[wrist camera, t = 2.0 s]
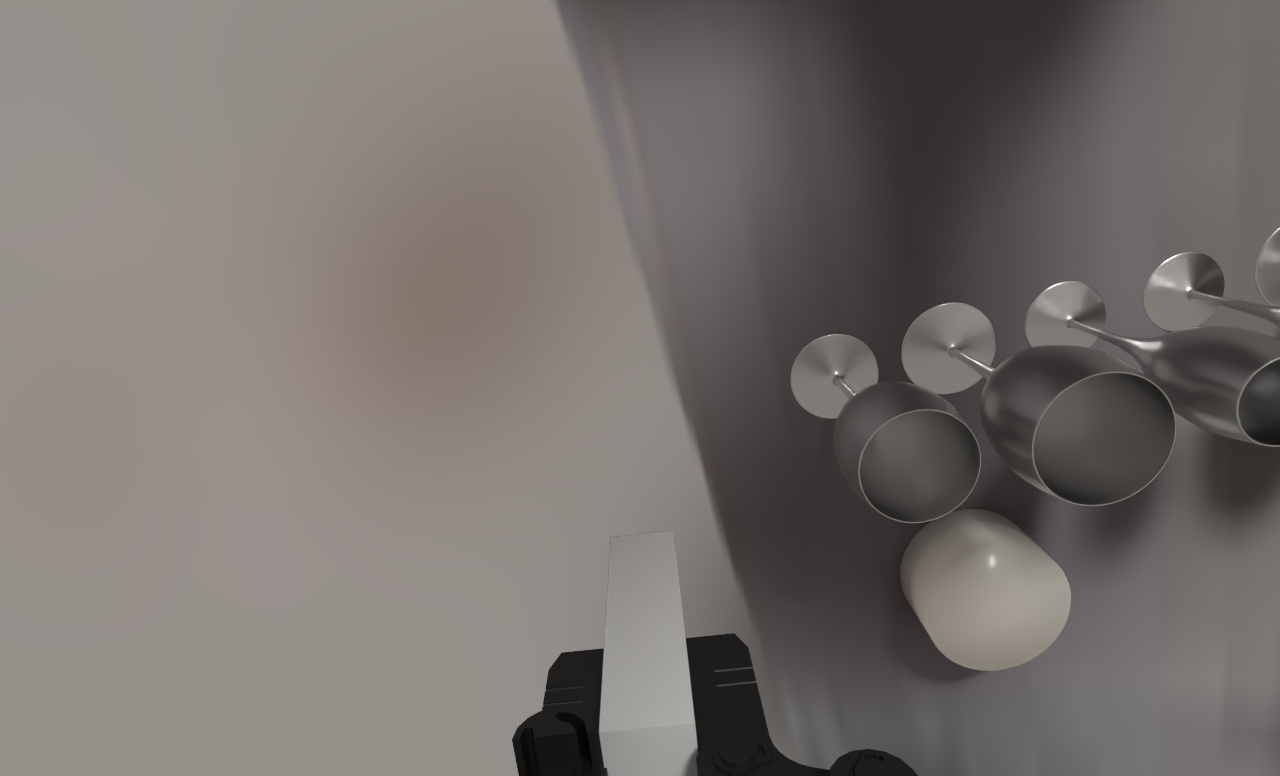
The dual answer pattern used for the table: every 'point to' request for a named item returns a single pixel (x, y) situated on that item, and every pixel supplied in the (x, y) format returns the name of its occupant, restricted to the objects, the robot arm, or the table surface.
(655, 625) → the robot arm
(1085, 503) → the goblet set
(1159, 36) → the table surface
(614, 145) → the table surface
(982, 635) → the cream squat rounded piece
